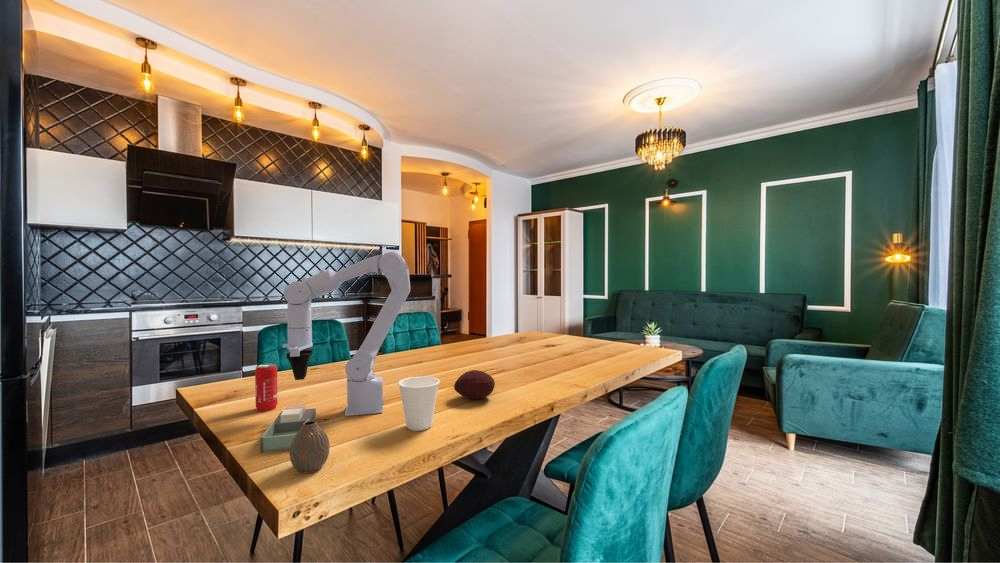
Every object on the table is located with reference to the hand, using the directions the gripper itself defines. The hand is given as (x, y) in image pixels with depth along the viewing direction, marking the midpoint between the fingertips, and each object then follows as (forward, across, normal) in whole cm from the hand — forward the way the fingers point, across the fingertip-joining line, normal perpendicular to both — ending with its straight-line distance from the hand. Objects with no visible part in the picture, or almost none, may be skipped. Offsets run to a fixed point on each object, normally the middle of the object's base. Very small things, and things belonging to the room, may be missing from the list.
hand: (300, 378), depth 106 cm
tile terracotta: (+7, +7, 0) cm, 10 cm away
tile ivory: (+7, +11, 0) cm, 13 cm away
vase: (+10, +33, +7) cm, 35 cm away
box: (+9, +18, 0) cm, 21 cm away
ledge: (+9, +9, 0) cm, 13 cm away
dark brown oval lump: (+10, +1, +47) cm, 48 cm away
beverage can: (+10, -7, -10) cm, 15 cm away
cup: (+10, +18, +29) cm, 36 cm away
